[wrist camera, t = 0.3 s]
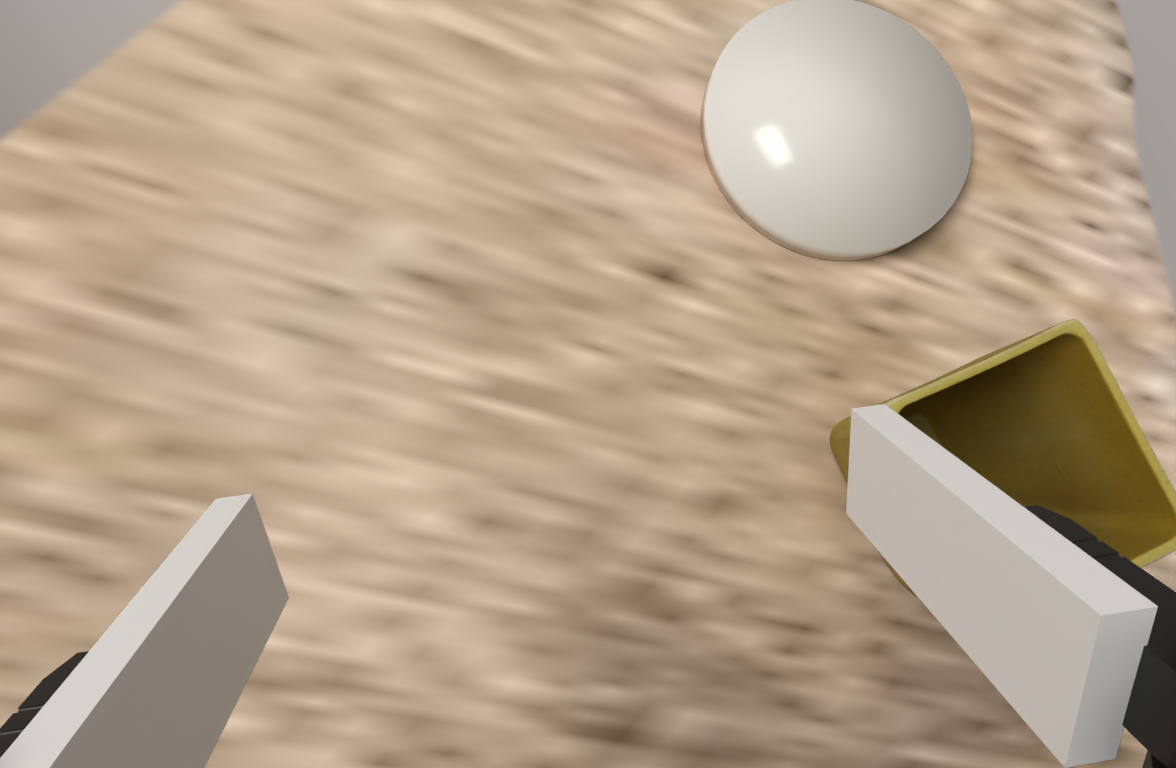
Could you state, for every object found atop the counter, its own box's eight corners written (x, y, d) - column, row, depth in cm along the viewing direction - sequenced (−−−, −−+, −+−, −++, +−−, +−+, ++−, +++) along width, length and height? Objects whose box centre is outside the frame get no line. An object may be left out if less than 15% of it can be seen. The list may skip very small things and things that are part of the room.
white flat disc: (981, 249, 34) (998, 240, 32) (722, 271, 32) (730, 263, 31) (928, 8, 36) (942, -8, 34) (682, 19, 34) (688, 2, 33)
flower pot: (858, 601, 30) (997, 649, 21) (778, 430, 31) (878, 406, 22) (1012, 523, 31) (1203, 537, 22) (930, 361, 32) (1082, 313, 23)
